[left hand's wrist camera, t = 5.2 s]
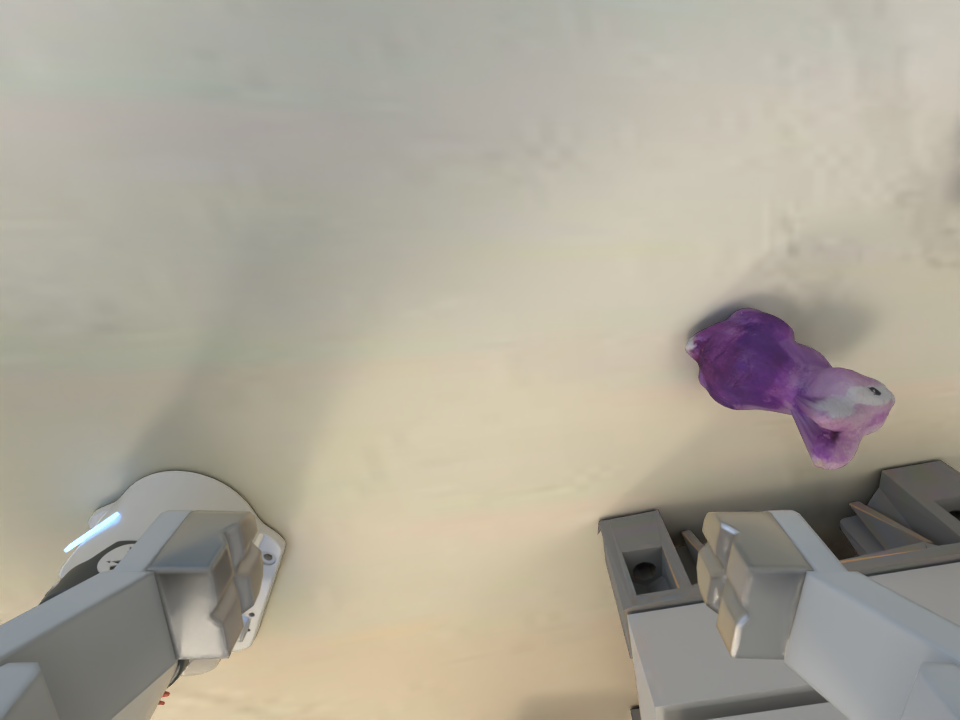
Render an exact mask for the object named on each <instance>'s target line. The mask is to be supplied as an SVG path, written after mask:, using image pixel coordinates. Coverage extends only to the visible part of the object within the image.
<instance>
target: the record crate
mask: <svg viewBox="0 0 960 720" xmlns="http://www.w3.org/2000/svg"><path fill="white" fill-rule="evenodd" d="M849 505H850V507H851V508H852V509H853V510H854V512H855V513H856V514H857V515H855V516H850V517H846V518H842V519H841V521H840V529H841V530H842V532H843V533H844V534H845V536H846V537H847V539H848V540H849V542H850V543H851V545H852V546H853V547H854V549H855V550H856V552H857V553H858V555H859V556H857V557H853V558H848V559H844V560H839V561H840V562H841V563H842V565H843V566H844V567H845V568H846V569H847V570H848V571H857V572H859V573H861V574H863V575H865V576H867V577H869V578H871V579H873V580H874V581H876V582H878V583H880V584H882V585H884V586H886V587H888V588H890V589H891V590H893V591H895V592H897V593H899V594H901V595H903V596H905V597H906V598H908V599H910V600H912V601H914V602H916V603H918V604H920V605H922V606H923V607H925V608H927V609H929V610H931V611H933V612H935V613H937V614H939V615H940V616H942V617H944V618H946V619H948V620H950V621H952V622H954V623H955V624H957V625H959V626H960V473H959V472H958V471H956V470H955V469H953V468H952V467H950V466H949V465H947V464H946V463H944V462H942V461H935V462H929V463H923V464H918V465H912V466H906V467H900V468H894V469H888V470H883V471H882V474H881V479H880V484H879V488H878V489H877V491H876V492H875V494H874V495H873V497H872V498H871V500H870V501H869V503H868V504H867V506H866V505H864V504H862V503H861V502H859V501H856V502H852V503H849ZM600 531H601V532H602V535H603V543H604V551H605V560H606V565H607V569H608V573H609V577H610V580H611V584H612V588H613V592H614V596H615V600H616V604H617V608H618V612H619V615H620V619H621V623H622V627H623V631H624V635H625V639H626V643H627V647H628V650H629V654H630V658H631V659H633V663H634V671H635V678H636V685H637V693H638V700H639V708H640V709H632V710H631V715H632V720H849V719H848V718H847V717H846V716H845V715H843V714H842V713H841V712H840V711H839V710H838V709H837V708H835V707H834V706H833V705H832V704H831V703H830V702H828V701H827V700H826V699H825V698H824V697H823V696H822V695H820V694H819V693H818V692H817V691H816V690H815V689H814V688H812V687H811V686H810V685H809V684H808V683H807V682H805V681H804V680H803V679H802V678H801V677H800V676H799V675H797V674H796V673H795V672H794V671H793V670H792V669H791V668H789V667H788V666H787V665H786V664H785V663H784V662H783V661H784V660H776V659H740V658H731V656H730V654H729V652H728V650H727V648H726V646H725V644H724V642H723V640H722V637H721V635H720V633H719V631H718V629H717V627H716V623H717V618H718V614H717V613H716V612H714V611H713V610H712V609H710V608H709V607H707V606H706V604H705V602H704V600H703V597H702V595H701V592H700V588H699V585H698V579H697V559H698V552H699V550H700V549H701V548H702V547H703V546H704V545H705V544H703V543H701V542H700V541H699V540H698V538H697V537H696V536H695V535H694V534H693V532H692V531H691V530H686V531H682V532H681V534H682V536H683V538H684V541H685V543H686V545H684V546H681V547H677V548H675V547H674V544H673V542H672V540H671V538H670V535H669V533H668V531H667V529H666V526H665V524H664V522H663V520H662V517H661V515H660V513H659V511H658V510H656V511H652V512H646V513H641V514H636V515H631V516H626V517H620V518H615V519H610V520H601V521H599V526H598V534H599V532H600Z"/></svg>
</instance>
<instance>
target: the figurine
mask: <svg viewBox="0 0 960 720" xmlns="http://www.w3.org/2000/svg"><path fill="white" fill-rule="evenodd" d="M685 350H686V352H687V353H688V354H689V355H690V356H691V357H692V358H693V359H694V360H695V361H696V362H697V363H698V365H699V367H700V372H699V377H698V378H699V381H700V384H701V385H702V386H703V387H704V388H706V390H707V391H708V392H709V394H710V396H711V397H712V398H713V399H714V400H715V401H717V402H718V403H720V404H721V405H723V406H725V407H728V408H731V409H735V410H753V409H756V410H768V411H774V412H779V413H785V414H790V415H792V416H793V418H794V420H795V422H796V425H797V427H798V429H799V432H800V434H801V436H802V438H803V441H804V443H805V445H806V447H807V450H808V452H809V454H810V457H811V459H812V461H813V463H814V465H815V466H817V467H819V468H823V469H838V468H840V467H843V466H845V465H846V464H847V463H848V462H850V461H851V459H852V458H853V457H854V455H855V453H856V451H857V449H858V446H859V442H860V441H861V439H862V437H863V436H864V435H868V434H871V433H873V432H875V431H877V430H878V429H879V428H880V427H881V426H882V425H883V423H884V421H885V419H886V417H887V416H888V414H889V412H890V410H891V408H892V406H893V405H894V403H895V398H894V395H893V394H892V392H890V391H889V390H888V389H887V388H886V387H885V385H883V384H882V383H881V382H879V381H877V380H875V379H872V378H869V377H866V376H864V375H861V374H859V373H857V372H855V371H852V370H849V369H844V368H832V367H831V365H830V364H829V362H828V361H827V360H826V359H825V357H824V356H823V355H822V354H820V353H819V352H818V351H816V350H814V349H812V348H810V347H807V346H804V345H801V344H798V343H797V342H796V341H795V340H794V332H793V330H792V329H791V327H790V326H789V325H788V324H786V323H785V322H784V321H782V320H781V319H779V318H777V317H775V316H773V315H770V314H767V313H764V312H761V311H759V310H755V309H751V308H745V309H740V310H738V311H737V312H735V313H733V314H732V315H731V316H730V317H729V318H728V319H726V320H725V321H723V322H719V323H716V324H714V325H712V326H710V327H708V328H706V329H704V330H702V331H700V332H698V333H696V334H695V335H694V336H693V337H692V338H691V339H690V340H689V341H688V343H687V344H686V347H685Z"/></svg>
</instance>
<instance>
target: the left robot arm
mask: <svg viewBox="0 0 960 720" xmlns="http://www.w3.org/2000/svg"><path fill="white" fill-rule="evenodd" d="M88 524H89V528H90V531H88V532H87V533H85V534H84V535H83V536H81V537H80V538H78V539H77V540H75V541H74V542H72V543H71V544H69V545H68V546H67V547H66V549H65V550H64V551H65V552H68V551H69V550H71V549H72V548H74V547H75V546H77V545H78V544H79V543H81V544H80V545H79V546H78V547H77V549H76V550H75V551H74V552H73V554H72V555H71V556H70V558H69V559H68V560H67V561H66V563H65V564H64V565H63V567H62V568H61V570H60V572H59V577H60V578H61V580H60V581H58V582H57V583H56V584H55V585H54V586H53V587H52V588H51V589H50V590H49V591H48V592H47V594H46V595H45V597H44V598H43V599H42V601H41V603H40V604H39V605H38V606H36V607H34V608H33V609H31V610H29V611H27V612H25V613H23V614H21V615H19V616H17V617H16V618H14V619H12V620H10V621H8V622H6V623H4V624H2V625H0V720H150V719H151V717H152V715H153V713H154V711H155V709H156V707H157V705H164V704H165V702H163V701H160V700H161V698H162V697H166V696H169V695H170V693H169V692H166V691H165V690H166V689H167V688H168V687H169V686H171V685H172V684H173V683H174V682H175V681H176V680H177V679H178V678H179V676H193V675H199V674H203V673H206V672H208V671H210V670H212V669H214V668H215V667H216V666H217V665H218V663H219V662H220V660H221V658H229V656H230V654H231V652H235V651H239V650H243V649H246V648H248V647H250V646H251V645H252V643H253V641H254V640H255V638H256V635H257V632H258V630H259V627H260V623H261V620H262V617H263V614H264V611H265V608H266V605H267V602H268V599H269V596H270V593H271V590H272V587H273V584H274V581H275V578H276V575H277V571H278V568H279V565H280V562H281V559H282V556H283V553H284V550H285V546H286V543H285V541H284V539H283V538H282V537H281V536H280V535H279V534H278V533H277V532H275V531H274V530H272V529H271V528H269V527H268V526H266V525H265V524H264V523H263V522H262V521H261V520H260V519H259V518H258V516H257V515H256V513H255V512H254V511H253V509H252V508H251V506H250V505H249V504H248V503H247V502H246V501H245V500H244V499H243V498H242V497H241V496H240V495H239V494H238V493H237V492H236V491H234V490H233V489H231V488H230V487H228V486H227V485H225V484H223V483H222V482H220V481H218V480H215V479H213V478H211V477H208V476H205V475H202V474H198V473H193V472H187V471H165V472H159V473H155V474H151V475H148V476H146V477H144V478H142V479H140V480H138V481H137V482H135V483H134V484H133V485H131V486H130V487H129V488H128V489H127V490H126V491H125V493H124V494H123V495H122V496H121V497H120V498H119V499H118V500H117V501H116V502H114V503H111V504H109V505H106V506H104V507H102V508H100V509H98V510H96V511H95V512H94V514H93V515H92V516H91V517H90V519H89V521H88ZM702 532H703V534H704V535H705V537H706V539H707V541H708V542H707V543H706V544H705V545H704V546H703V547H702V548H701V549H700V550H699V552H698V559H697V579H698V585H699V588H700V592H701V595H702V597H703V600H704V602H705V604H706V606H707V607H709V608H710V609H712V610H713V611H714V612H716V613H717V614H718V618H717V623H716V627H717V629H718V631H719V633H720V635H721V637H722V640H723V642H724V644H725V646H726V648H727V650H728V652H729V654H730V656H731V658H740V659H776V660H784V661H783V662H784V663H785V664H786V665H787V666H788V667H789V668H791V669H792V670H793V671H794V672H795V673H796V674H797V675H799V676H800V677H801V678H802V679H803V680H804V681H805V682H807V683H808V684H809V685H810V686H811V687H812V688H814V689H815V690H816V691H817V692H818V693H819V694H820V695H822V696H823V697H824V698H825V699H826V700H827V701H828V702H830V703H831V704H832V705H833V706H834V707H835V708H837V709H838V710H839V711H840V712H841V713H842V714H843V715H845V716H846V717H847V718H848V719H849V720H960V626H959V625H957V624H955V623H954V622H952V621H950V620H948V619H946V618H944V617H942V616H940V615H939V614H937V613H935V612H933V611H931V610H929V609H927V608H925V607H923V606H922V605H920V604H918V603H916V602H914V601H912V600H910V599H908V598H906V597H905V596H903V595H901V594H899V593H897V592H895V591H893V590H891V589H890V588H888V587H886V586H884V585H882V584H880V583H878V582H876V581H874V580H873V579H871V578H869V577H867V576H865V575H863V574H861V573H859V572H857V571H848V570H847V569H846V568H845V567H844V566H843V565H842V563H841V562H840V561H839V560H838V559H837V557H836V556H835V555H834V554H833V553H832V552H831V550H830V549H829V548H828V547H827V546H826V544H825V543H824V542H823V541H822V540H821V538H820V537H819V536H818V535H817V534H816V533H815V531H814V530H813V529H812V528H811V527H810V525H809V524H808V523H807V522H806V521H805V519H804V518H803V517H802V516H801V515H800V514H799V513H798V512H796V511H794V510H767V511H757V512H708V513H707V515H706V517H705V519H704V523H703V528H702ZM268 554H270V555H272V556H270V555H268Z"/></svg>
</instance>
